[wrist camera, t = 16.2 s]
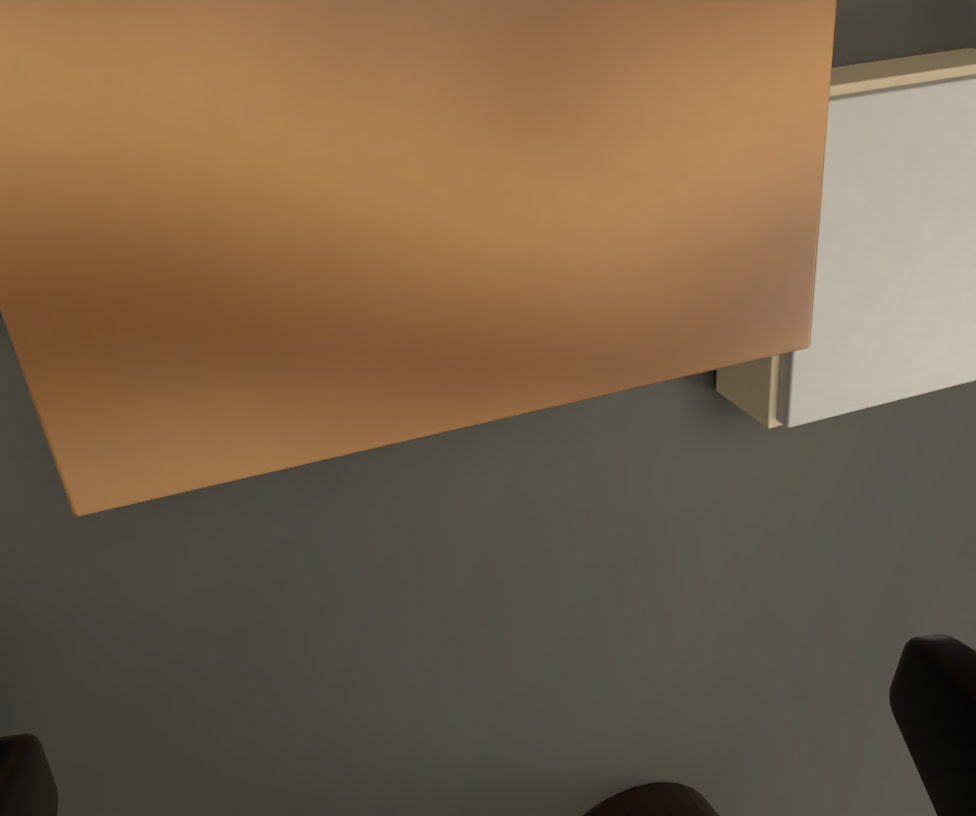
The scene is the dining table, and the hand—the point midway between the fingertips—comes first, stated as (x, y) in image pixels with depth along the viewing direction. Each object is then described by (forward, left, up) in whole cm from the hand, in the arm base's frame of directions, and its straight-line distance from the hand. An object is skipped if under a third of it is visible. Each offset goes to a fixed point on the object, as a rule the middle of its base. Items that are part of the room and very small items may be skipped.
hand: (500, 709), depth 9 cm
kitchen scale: (+14, 0, -12) cm, 18 cm away
